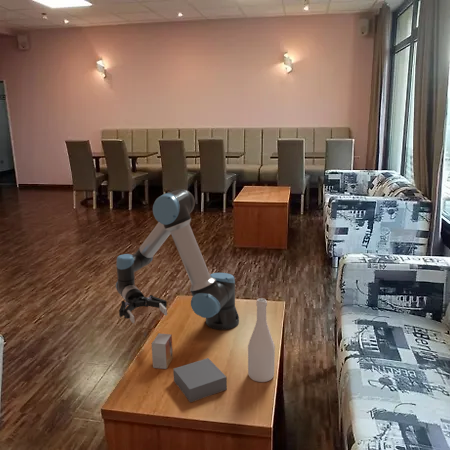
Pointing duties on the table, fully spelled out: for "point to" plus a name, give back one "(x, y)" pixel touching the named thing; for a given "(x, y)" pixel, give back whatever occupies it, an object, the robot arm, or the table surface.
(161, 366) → the small box
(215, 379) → the plinth
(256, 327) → the wine bottle
